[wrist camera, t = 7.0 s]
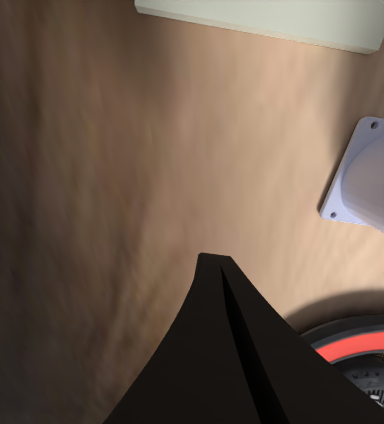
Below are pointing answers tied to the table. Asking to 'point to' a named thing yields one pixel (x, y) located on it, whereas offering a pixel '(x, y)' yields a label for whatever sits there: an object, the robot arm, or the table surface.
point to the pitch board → (285, 19)
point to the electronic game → (353, 350)
